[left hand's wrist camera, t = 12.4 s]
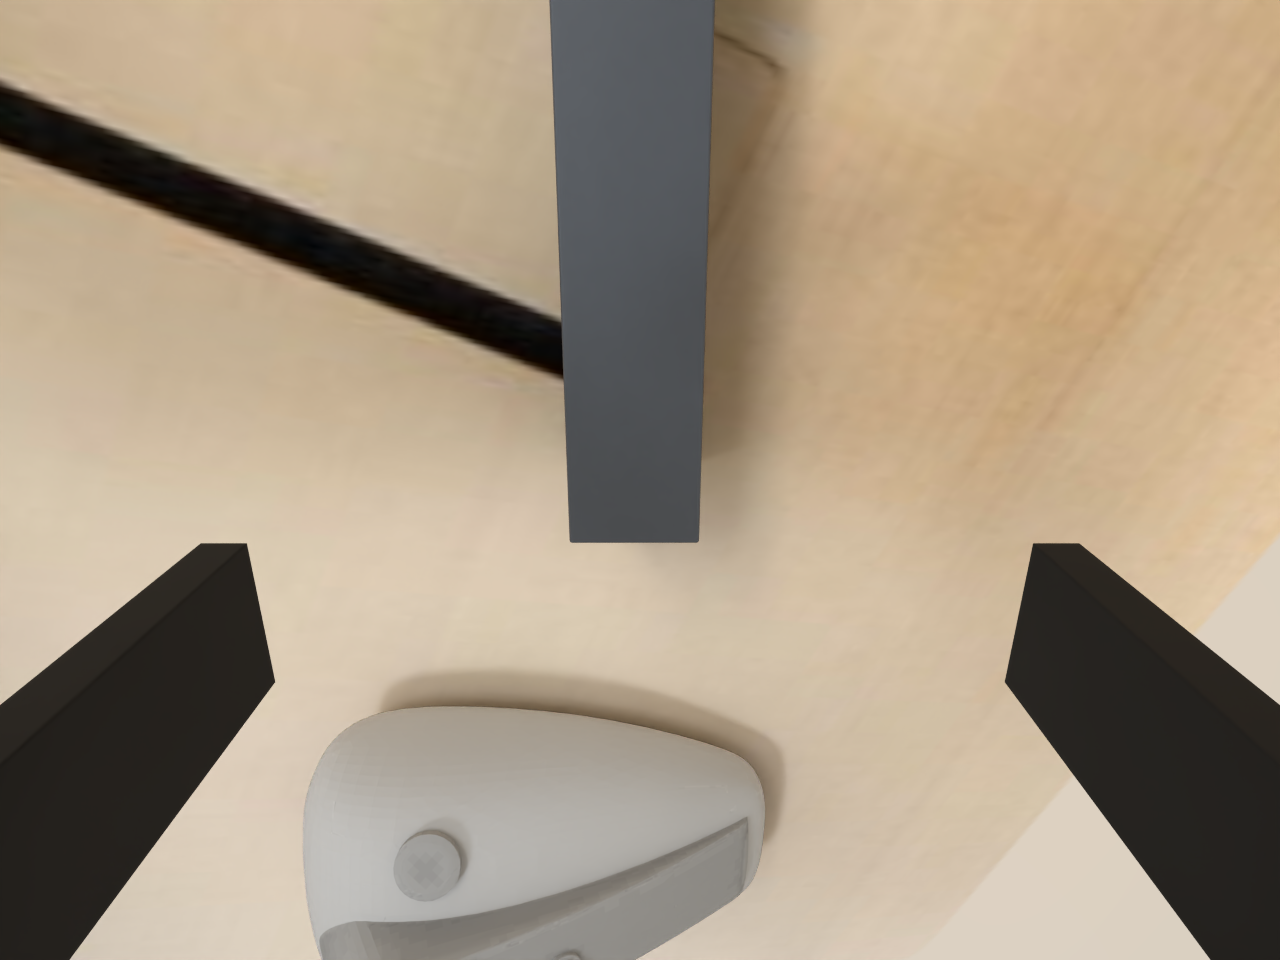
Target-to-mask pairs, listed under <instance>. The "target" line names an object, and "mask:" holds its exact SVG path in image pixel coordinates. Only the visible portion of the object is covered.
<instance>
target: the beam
mask: <svg viewBox="0 0 1280 960" xmlns="http://www.w3.org/2000/svg"><path fill="white" fill-rule="evenodd" d="M714 14H715V0H550V25H551V52H552V79H553V106H554V132H555V159H556V186H557V213H558V239H559V266H560V293H561V320H562V346H563V373H564V400H565V427H566V454H567V480H568V507H569V534H570V542H572V543H697V542H698V541H699V520H700V486H701V453H702V419H703V385H704V352H705V318H706V284H707V250H708V217H709V183H710V149H711V115H712V82H713V48H714Z"/></svg>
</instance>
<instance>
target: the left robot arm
mask: <svg viewBox="0 0 1280 960" xmlns="http://www.w3.org/2000/svg"><path fill="white" fill-rule="evenodd" d="M274 683H275V679H274V674H273V669H272V664H271V659H270V654H269V650H268V645H267V640H266V635H265V630H264V625H263V620H262V615H261V611H260V606H259V601H258V596H257V591H256V586H255V581H254V576H253V572H252V567H251V562H250V557H249V552H248V547H247V543H201V544H200V545H198V546H197V547H196V548H195V549H193V550H192V551H191V552H190V553H188V554H187V555H186V556H185V557H183V558H182V559H181V560H180V561H178V562H177V563H176V564H175V565H174V566H172V567H171V568H170V569H169V570H167V571H166V572H165V573H164V574H162V575H161V576H160V577H159V578H157V579H156V580H155V581H154V582H152V583H151V584H150V585H149V586H147V587H146V588H145V589H144V590H142V591H141V592H140V593H139V594H138V595H136V596H135V597H134V598H133V599H131V600H130V601H129V602H128V603H126V604H125V605H124V606H123V607H121V608H120V609H119V610H118V611H116V612H115V613H114V614H113V615H111V616H110V617H109V618H108V619H106V620H105V621H104V622H103V623H102V624H100V625H99V626H98V627H97V628H95V629H94V630H93V631H92V632H90V633H89V634H88V635H87V636H85V637H84V638H83V639H82V640H80V641H79V642H78V643H77V644H75V645H74V646H73V647H72V648H70V649H69V650H68V651H67V652H66V653H64V654H63V655H62V656H61V657H59V658H58V659H57V660H56V661H54V662H53V663H52V664H51V665H49V666H48V667H47V668H46V669H44V670H43V671H42V672H41V673H39V674H38V675H37V676H36V677H35V678H33V679H32V680H31V681H30V682H28V683H27V684H26V685H25V686H23V687H22V688H21V689H20V690H18V691H17V692H16V693H15V694H13V695H12V696H11V697H10V698H8V699H7V700H6V701H5V702H3V703H2V704H1V705H0V960H70V958H71V957H72V956H73V954H74V953H75V952H76V950H77V949H78V947H79V946H80V945H81V943H82V942H83V941H84V939H85V938H86V937H87V935H88V934H89V933H90V931H91V930H92V929H93V927H94V926H95V925H96V923H97V922H98V920H99V919H100V918H101V916H102V915H103V914H104V912H105V911H106V910H107V908H108V907H109V906H110V904H111V903H112V902H113V900H114V899H115V898H116V896H117V895H118V893H119V892H120V891H121V889H122V888H123V887H124V885H125V884H126V883H127V881H128V880H129V879H130V877H131V876H132V875H133V873H134V872H135V871H136V869H137V868H138V866H139V865H140V864H141V862H142V861H143V860H144V858H145V857H146V856H147V854H148V853H149V852H150V850H151V849H152V848H153V846H154V845H155V844H156V842H157V841H158V839H159V838H160V837H161V835H162V834H163V833H164V831H165V830H166V829H167V827H168V826H169V825H170V823H171V822H172V821H173V819H174V818H175V817H176V815H177V814H178V812H179V811H180V810H181V808H182V807H183V806H184V804H185V803H186V802H187V800H188V799H189V798H190V796H191V795H192V794H193V792H194V791H195V790H196V788H197V787H198V785H199V784H200V783H201V781H202V780H203V779H204V777H205V776H206V775H207V773H208V772H209V771H210V769H211V768H212V767H213V765H214V764H215V763H216V761H217V760H218V759H219V757H220V756H221V754H222V753H223V752H224V750H225V749H226V748H227V746H228V745H229V744H230V742H231V741H232V740H233V738H234V737H235V736H236V734H237V733H238V732H239V730H240V729H241V727H242V726H243V725H244V723H245V722H246V721H247V719H248V718H249V717H250V715H251V714H252V713H253V711H254V710H255V709H256V707H257V706H258V705H259V703H260V702H261V700H262V699H263V698H264V696H265V695H266V694H267V692H268V691H269V690H270V688H271V687H272V686H273V684H274ZM1005 683H1006V684H1007V686H1008V687H1009V688H1010V690H1011V691H1012V692H1013V694H1014V695H1015V696H1016V698H1017V699H1018V700H1019V702H1020V703H1021V705H1022V706H1023V707H1024V709H1025V710H1026V711H1027V713H1028V714H1029V715H1030V717H1031V718H1032V719H1033V721H1034V722H1035V723H1036V725H1037V726H1038V727H1039V729H1040V730H1041V732H1042V733H1043V734H1044V736H1045V737H1046V738H1047V740H1048V741H1049V742H1050V744H1051V745H1052V746H1053V748H1054V749H1055V750H1056V752H1057V753H1058V754H1059V756H1060V757H1061V759H1062V760H1063V761H1064V763H1065V764H1066V765H1067V767H1068V768H1069V769H1070V771H1071V772H1072V773H1073V775H1074V776H1075V777H1076V779H1077V780H1078V781H1079V783H1080V784H1081V786H1082V787H1083V788H1084V790H1085V791H1086V792H1087V794H1088V795H1089V796H1090V798H1091V799H1092V800H1093V802H1094V803H1095V804H1096V806H1097V807H1098V808H1099V810H1100V811H1101V812H1102V814H1103V815H1104V817H1105V818H1106V819H1107V820H1108V822H1109V823H1110V825H1111V826H1112V827H1113V829H1114V830H1115V831H1116V833H1117V834H1118V835H1119V837H1120V838H1121V839H1122V841H1123V842H1124V844H1125V845H1126V846H1127V848H1128V849H1129V850H1130V852H1131V853H1132V854H1133V856H1134V857H1135V858H1136V860H1137V861H1138V862H1139V864H1140V865H1141V866H1142V868H1143V869H1144V870H1145V872H1146V873H1147V875H1148V876H1149V877H1150V879H1151V880H1152V881H1153V883H1154V884H1155V885H1156V887H1157V888H1158V889H1159V891H1160V892H1161V893H1162V895H1163V896H1164V898H1165V899H1166V900H1167V902H1168V903H1169V904H1170V906H1171V907H1172V908H1173V910H1174V911H1175V912H1176V914H1177V915H1178V916H1179V918H1180V919H1181V920H1182V922H1183V923H1184V925H1185V926H1186V927H1187V928H1188V930H1189V931H1190V933H1191V934H1192V935H1193V937H1194V938H1195V939H1196V941H1197V942H1198V943H1199V945H1200V946H1201V947H1202V949H1203V950H1204V951H1205V953H1206V954H1207V956H1208V957H1209V958H1210V960H1280V705H1279V704H1278V703H1277V702H1275V701H1274V700H1273V699H1272V698H1270V697H1269V696H1268V695H1267V694H1265V693H1264V692H1263V691H1262V690H1260V689H1259V688H1258V687H1257V686H1255V685H1254V684H1253V683H1252V682H1250V681H1249V680H1248V679H1247V678H1245V677H1244V676H1243V675H1242V674H1241V673H1239V672H1238V671H1237V670H1236V669H1234V668H1233V667H1232V666H1231V665H1229V664H1228V663H1227V662H1226V661H1224V660H1223V659H1222V658H1221V657H1219V656H1218V655H1217V654H1216V653H1214V652H1213V651H1212V650H1211V649H1210V648H1208V647H1207V646H1206V645H1205V644H1203V643H1202V642H1201V641H1200V640H1198V639H1197V638H1196V637H1195V636H1193V635H1192V634H1191V633H1190V632H1188V631H1187V630H1186V629H1185V628H1183V627H1182V626H1181V625H1180V624H1178V623H1177V622H1176V621H1175V620H1174V619H1172V618H1171V617H1170V616H1169V615H1167V614H1166V613H1165V612H1164V611H1162V610H1161V609H1160V608H1159V607H1157V606H1156V605H1155V604H1154V603H1152V602H1151V601H1150V600H1149V599H1147V598H1146V597H1145V596H1144V595H1142V594H1141V593H1140V592H1139V591H1138V590H1136V589H1135V588H1134V587H1133V586H1131V585H1130V584H1129V583H1128V582H1126V581H1125V580H1124V579H1123V578H1121V577H1120V576H1119V575H1118V574H1116V573H1115V572H1114V571H1113V570H1111V569H1110V568H1109V567H1108V566H1106V565H1105V564H1104V563H1103V562H1102V561H1100V560H1099V559H1098V558H1097V557H1095V556H1094V555H1093V554H1092V553H1090V552H1089V551H1088V550H1087V549H1085V548H1084V547H1083V546H1082V545H1080V544H1079V543H1033V547H1032V552H1031V557H1030V562H1029V567H1028V572H1027V576H1026V581H1025V586H1024V591H1023V596H1022V601H1021V606H1020V611H1019V615H1018V620H1017V625H1016V630H1015V635H1014V640H1013V645H1012V649H1011V654H1010V659H1009V664H1008V669H1007V674H1006V679H1005Z"/></svg>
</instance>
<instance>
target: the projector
mask: <svg viewBox="0 0 1280 960" xmlns="http://www.w3.org/2000/svg"><path fill="white" fill-rule="evenodd" d="M764 824H765V801H764V793H763V789H762V786H761V783H760V780H759V778H758V776H757V774H756V772H755V771H754V769H753V768H752V767H751V765H750V764H749V763H748V762H747V761H746V760H744V759H743V758H741V757H740V756H738V755H736V754H734V753H732V752H730V751H727V750H725V749H722V748H719V747H716V746H713V745H710V744H707V743H704V742H701V741H697V740H694V739H690V738H687V737H683V736H680V735H676V734H672V733H668V732H664V731H659V730H655V729H651V728H647V727H642V726H637V725H632V724H628V723H623V722H618V721H613V720H607V719H600V718H594V717H588V716H581V715H574V714H566V713H557V712H548V711H538V710H526V709H514V708H495V707H466V706H441V707H418V708H407V709H400V710H394V711H388V712H383V713H379V714H376V715H372V716H370V717H367V718H365V719H362V720H360V721H358V722H356V723H354V724H353V725H351V726H350V727H348V728H347V729H345V730H344V731H343V732H342V733H340V734H339V735H338V736H337V737H336V738H335V739H334V740H333V741H332V743H331V744H330V745H329V746H328V748H327V749H326V751H325V752H324V754H323V756H322V758H321V759H320V761H319V763H318V765H317V768H316V770H315V772H314V774H313V777H312V780H311V783H310V786H309V789H308V793H307V797H306V802H305V808H304V820H303V859H304V874H305V886H306V898H307V904H308V909H309V915H310V920H311V924H312V929H313V933H314V937H315V941H316V944H317V948H318V951H319V954H320V957H321V959H322V960H636V959H638V958H639V957H641V956H643V955H645V954H646V953H648V952H650V951H651V950H653V949H655V948H657V947H658V946H660V945H662V944H663V943H665V942H667V941H669V940H670V939H672V938H674V937H675V936H677V935H679V934H680V933H682V932H684V931H685V930H687V929H688V928H690V927H692V926H693V925H695V924H697V923H698V922H700V921H701V920H703V919H704V918H706V917H708V916H709V915H711V914H712V913H714V912H715V911H717V910H719V909H720V908H722V907H723V906H725V905H726V904H728V903H729V902H731V901H732V900H734V899H735V898H736V897H737V896H738V895H740V893H742V892H743V891H744V890H745V889H746V888H747V887H748V886H749V884H750V883H751V881H752V880H753V878H754V876H755V873H756V871H757V868H758V865H759V861H760V856H761V850H762V844H763V835H764Z"/></svg>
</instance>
